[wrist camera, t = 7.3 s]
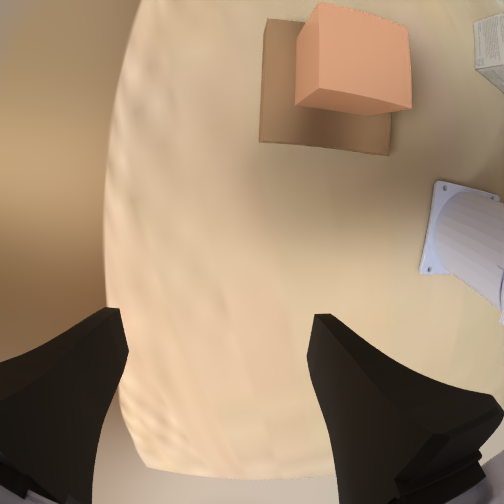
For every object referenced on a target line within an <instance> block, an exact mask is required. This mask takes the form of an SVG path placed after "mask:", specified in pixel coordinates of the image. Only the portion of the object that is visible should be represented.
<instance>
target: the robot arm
mask: <svg viewBox="0 0 504 504" xmlns="http://www.w3.org/2000/svg"><path fill="white" fill-rule="evenodd" d="M443 186H444V187H445V188H444V190H443ZM428 268H429V269H428ZM427 269H428V270H427ZM419 272H420V273H421V274H423V275H434V274H453V275H454V276H456V277H457V278H458V279H460V280H461V281H462V282H464V283H465V284H467V285H468V286H469V287H471V288H472V289H473V290H475V291H476V292H477V293H478V294H480V295H481V296H482V297H484V298H485V299H486V300H487V301H489V302H490V303H491V304H493V305H494V306H495V307H496V308H498V309H499V310H500V311H501V312H502V314H501V318H500V323H501V324H502V325H504V203H501V202H500V197H499V196H498V195H495V194H492V193H488V192H485V191H481V190H477V189H474V188H470V187H466V186H462V185H457V184H453V183H449V182H444V181H440V180H437V181H436V182H435V184H434V191H433V199H432V206H431V212H430V218H429V224H428V229H427V234H426V240H425V244H424V249H423V254H422V258H421V262H420V266H419ZM128 353H129V349H128V345H127V341H126V337H125V332H124V328H123V323H122V319H121V314H120V309H119V308H108V307H105V308H103V309H101V310H99V311H97V312H96V313H94V314H92V315H91V316H89V317H87V318H86V319H84V320H83V321H82V322H80V323H78V324H76V325H75V326H73V327H72V328H70V329H69V330H67V331H66V332H64V333H62V334H60V335H59V336H57V337H55V338H54V339H52V340H50V341H48V342H47V343H45V344H43V345H41V346H39V347H37V348H35V349H33V350H31V351H29V352H27V353H25V354H22V355H20V356H17V357H14V358H11V359H9V360H6V361H3V362H0V504H92V483H93V473H94V465H95V458H96V453H97V447H98V442H99V438H100V433H101V429H102V425H103V422H104V418H105V416H106V413H107V411H108V408H109V406H110V403H111V401H112V398H113V396H114V394H115V391H116V389H117V386H118V384H119V382H120V379H121V377H122V374H123V372H124V368H125V365H126V361H127V357H128ZM307 362H308V367H309V372H310V377H311V381H312V384H313V387H314V390H315V393H316V396H317V399H318V402H319V405H320V408H321V411H322V413H323V416H324V419H325V422H326V425H327V429H328V433H329V437H330V442H331V447H332V452H333V457H334V464H335V470H336V477H337V485H338V493H339V504H504V450H503V451H502V452H500V453H499V454H497V455H496V456H494V457H493V458H492V459H490V460H489V461H487V462H486V463H485V464H483V465H482V466H480V464H479V462H478V461H479V460H480V459H481V458H482V454H481V453H480V451H479V448H480V447H481V446H482V445H483V444H484V443H485V442H486V441H487V440H488V438H489V437H490V436H491V435H492V434H493V433H494V431H495V430H496V429H497V428H498V426H499V425H500V423H501V422H502V419H503V417H504V411H503V409H502V408H501V406H500V405H499V404H498V402H497V401H496V400H495V398H494V397H493V396H492V395H490V394H485V393H479V392H474V391H469V390H464V389H461V388H457V387H454V386H450V385H447V384H444V383H441V382H439V381H436V380H434V379H431V378H429V377H426V376H424V375H422V374H419V373H417V372H415V371H413V370H411V369H409V368H407V367H406V366H404V365H402V364H400V363H398V362H396V361H395V360H393V359H392V358H390V357H388V356H387V355H385V354H384V353H382V352H381V351H379V350H378V349H376V348H375V347H374V346H372V345H371V344H369V343H368V342H367V341H365V340H364V339H363V338H361V337H360V336H359V335H357V334H356V333H355V332H354V331H352V330H351V329H350V328H349V327H347V326H346V325H345V324H344V323H342V322H341V321H340V320H338V319H337V318H336V317H335V316H333V315H332V314H315V315H314V321H313V326H312V332H311V337H310V342H309V347H308V352H307Z"/></svg>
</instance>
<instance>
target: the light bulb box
mask: <svg viewBox="0 0 504 504" xmlns="http://www.w3.org/2000/svg"><path fill="white" fill-rule="evenodd" d="M473 26H474V40H475V69H476V70H477V71H479V72H480V73H481V74H482V75H484V76H485V77H486V78H487V79H488V80H490V81H491V82H492V83H493V84H494V85H495V86H497V87H498V88H499V89H500V90H501V91H502V92H503V93H504V13H501V14H498V15H494V16H491V17H488V18H485V19H482V20H479V21H477V22H474V23H473Z"/></svg>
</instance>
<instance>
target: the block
mask: <svg viewBox="0 0 504 504" xmlns="http://www.w3.org/2000/svg"><path fill="white" fill-rule="evenodd" d="M295 106H303V107H311V108H319V109H326V110H333V111H339V112H345V113H351V114H356V115H361V116H366V117H367V116H372V115H377V114H383V113H388V112H394V111H400V110H406V109H412V87H411V64H410V50H409V39H408V30H407V27H406V26H403V25H400V24H398V23H395V22H392V21H390V20H387V19H384V18H381V17H378V16H375V15H371V14H368V13H365V12H361V11H358V10H354V9H350V8H346V7H342V6H338V5H333V4H329V3H324V2H318V3H317V5H316V6H315V8H314V10H313V11H312V13H311V15H310V16H309V18H308V20H307V21H306V23H305V25H304V26H303V28H302V30H301V31H300V33H299V35H298V37H297V46H296V86H295Z"/></svg>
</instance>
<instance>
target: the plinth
mask: <svg viewBox="0 0 504 504" xmlns="http://www.w3.org/2000/svg"><path fill="white" fill-rule="evenodd" d="M304 25H305V23H302V22H295V21H287V20H278V19H267V22H266V26H265V30H264V38H263V61H262V83H261V105H260V127H259V142H264V143H280V144H293V145H304V146H314V147H323V148H332V149H340V150H347V151H354V152H361V153H367V154H375V155H386V156H389V147H390V129H391V112H388V113H383V114H377V115H372V116H367V117H366V116H361V115H356V114H351V113H345V112H339V111H333V110H326V109H319V108H311V107H303V106H295V86H296V46H297V37H298V35H299V33H300V31H301V30H302V28H303V26H304Z"/></svg>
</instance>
